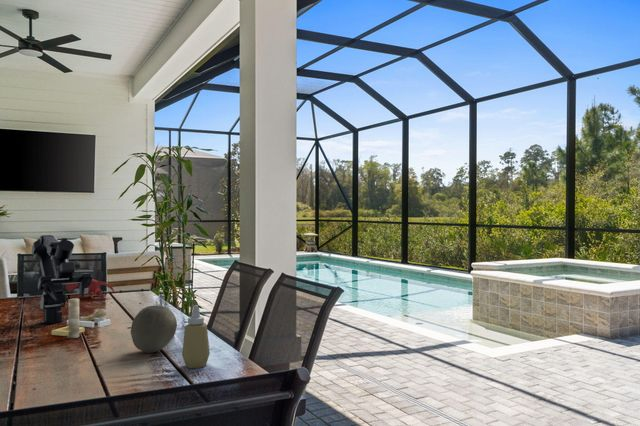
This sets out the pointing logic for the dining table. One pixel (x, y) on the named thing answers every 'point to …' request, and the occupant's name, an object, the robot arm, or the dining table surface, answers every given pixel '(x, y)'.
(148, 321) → the grey egg-shaped stone
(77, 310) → the post
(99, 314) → the figurine
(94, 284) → the red toy dinosaur
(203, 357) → the squeeze bottle
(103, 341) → the dining table surface
